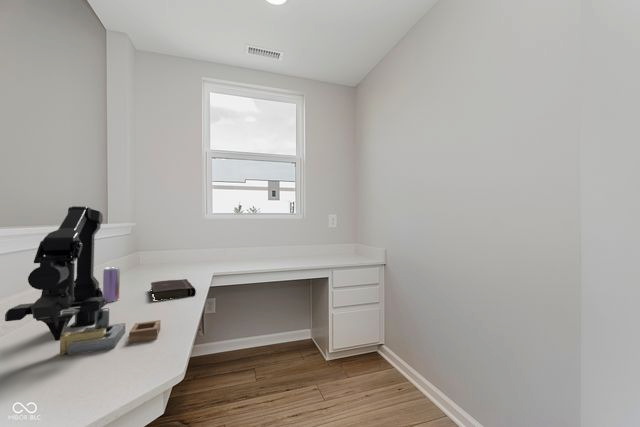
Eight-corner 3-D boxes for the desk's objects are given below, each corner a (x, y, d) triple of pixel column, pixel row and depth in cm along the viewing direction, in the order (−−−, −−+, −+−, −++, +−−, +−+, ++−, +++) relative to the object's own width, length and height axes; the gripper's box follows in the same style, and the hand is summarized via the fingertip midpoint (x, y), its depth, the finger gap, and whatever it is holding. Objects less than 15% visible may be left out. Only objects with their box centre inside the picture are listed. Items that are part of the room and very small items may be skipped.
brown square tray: (135, 332, 85) (135, 323, 85) (160, 329, 88) (160, 320, 88) (129, 343, 78) (129, 332, 78) (156, 338, 81) (156, 328, 81)
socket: (85, 337, 82) (86, 328, 82) (125, 332, 86) (125, 322, 86) (68, 355, 71) (68, 344, 71) (114, 347, 75) (114, 337, 75)
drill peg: (97, 339, 81) (97, 309, 81) (110, 337, 82) (110, 307, 83) (93, 343, 78) (94, 312, 78) (106, 341, 79) (107, 310, 80)
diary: (187, 287, 151) (188, 278, 151) (195, 297, 130) (196, 286, 130) (148, 291, 140) (149, 281, 140) (150, 303, 119) (151, 291, 120)
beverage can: (110, 303, 118) (110, 269, 119) (99, 302, 119) (100, 268, 120) (122, 299, 124) (123, 267, 125) (112, 298, 125) (112, 266, 126)
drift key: (65, 350, 74) (65, 332, 74) (106, 343, 77) (106, 326, 78) (59, 355, 71) (60, 336, 71) (102, 348, 75) (102, 330, 75)
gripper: (-10, 292, 61) (-13, 361, 61) (92, 284, 69) (90, 345, 69) (19, 283, 72) (17, 342, 71) (106, 276, 79) (104, 330, 79)
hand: (58, 340), depth 72 cm, fingers closed
